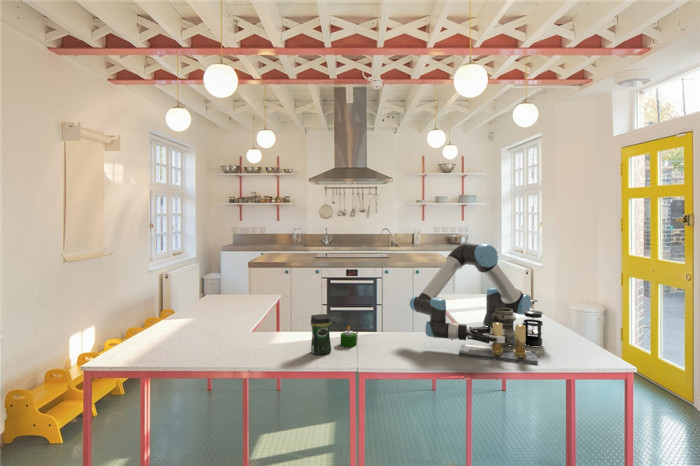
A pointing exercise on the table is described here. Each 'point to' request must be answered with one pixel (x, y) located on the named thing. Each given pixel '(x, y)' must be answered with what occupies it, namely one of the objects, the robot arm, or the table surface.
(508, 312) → the grey brown stone vase
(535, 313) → the french press
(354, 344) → the candle
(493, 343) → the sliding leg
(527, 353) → the bolt plate
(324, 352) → the coffee jar
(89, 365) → the table surface
